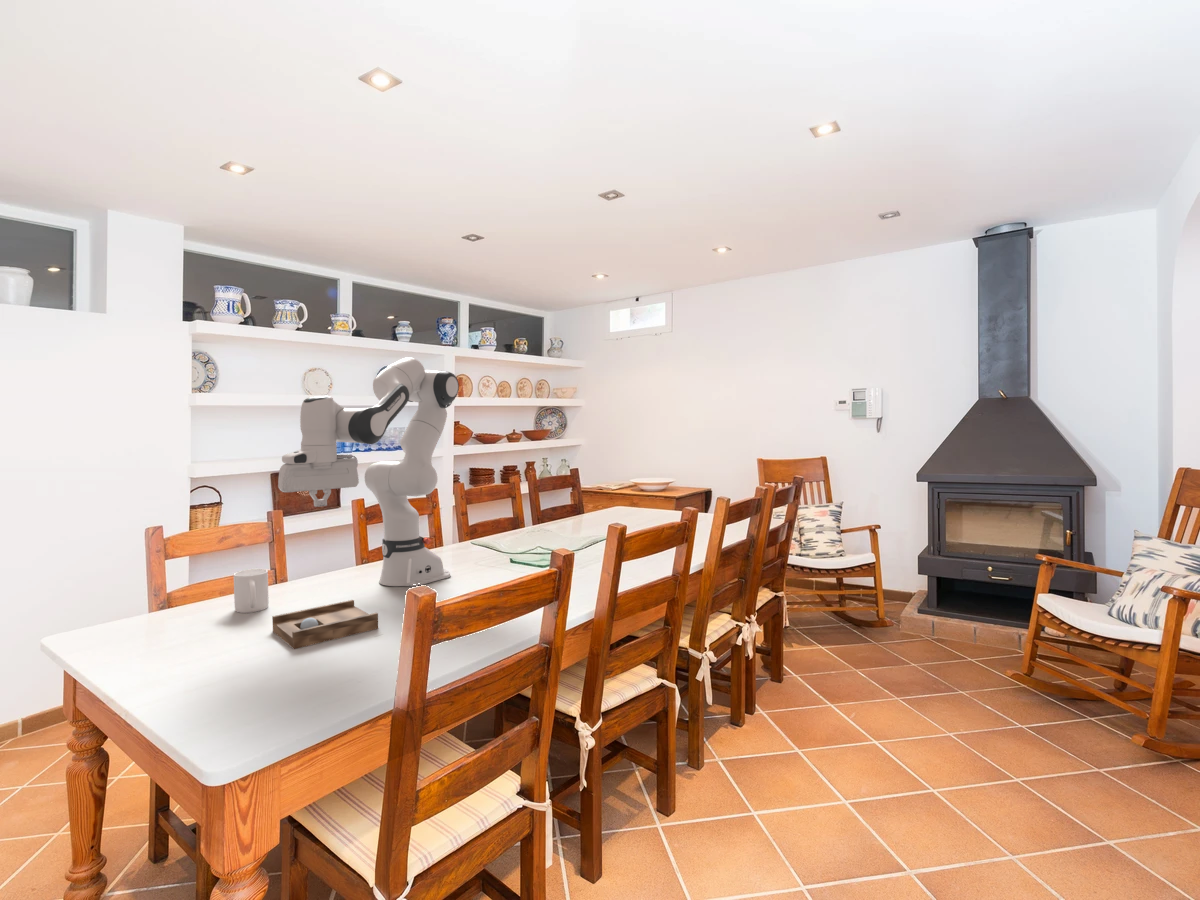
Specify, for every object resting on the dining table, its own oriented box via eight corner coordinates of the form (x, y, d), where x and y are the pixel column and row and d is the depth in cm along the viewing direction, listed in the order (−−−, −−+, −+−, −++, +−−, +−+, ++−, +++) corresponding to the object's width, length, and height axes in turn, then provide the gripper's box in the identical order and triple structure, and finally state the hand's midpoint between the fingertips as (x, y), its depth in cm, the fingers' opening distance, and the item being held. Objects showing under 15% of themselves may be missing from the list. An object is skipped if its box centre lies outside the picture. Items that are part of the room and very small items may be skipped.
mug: (270, 614, 168) (269, 576, 167) (235, 619, 163) (234, 580, 163) (267, 602, 178) (266, 567, 177) (234, 607, 173) (233, 571, 173)
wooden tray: (352, 613, 168) (352, 599, 168) (378, 628, 156) (378, 613, 156) (272, 631, 154) (272, 616, 154) (294, 649, 142) (293, 632, 142)
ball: (307, 635, 154) (318, 621, 156) (312, 639, 151) (324, 625, 153) (294, 627, 152) (306, 613, 153) (299, 631, 149) (311, 616, 150)
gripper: (352, 453, 177) (353, 501, 178) (275, 456, 163) (276, 508, 164) (361, 454, 172) (362, 503, 173) (283, 457, 158) (284, 511, 159)
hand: (320, 506), depth 168 cm, fingers closed
